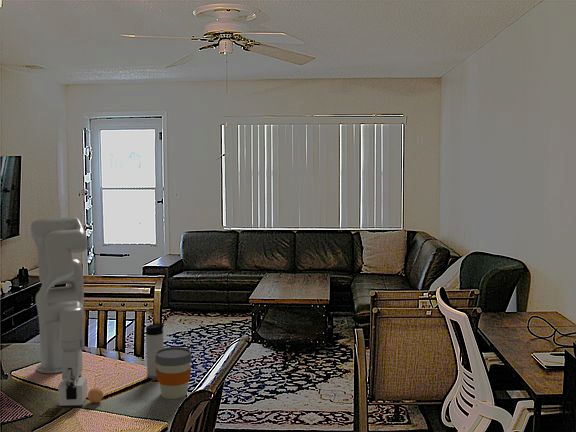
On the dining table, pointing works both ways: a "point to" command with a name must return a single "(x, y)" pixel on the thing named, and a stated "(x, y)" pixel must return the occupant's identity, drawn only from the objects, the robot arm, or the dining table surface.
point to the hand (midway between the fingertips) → (74, 393)
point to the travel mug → (153, 347)
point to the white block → (80, 391)
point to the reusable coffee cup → (173, 371)
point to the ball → (95, 395)
